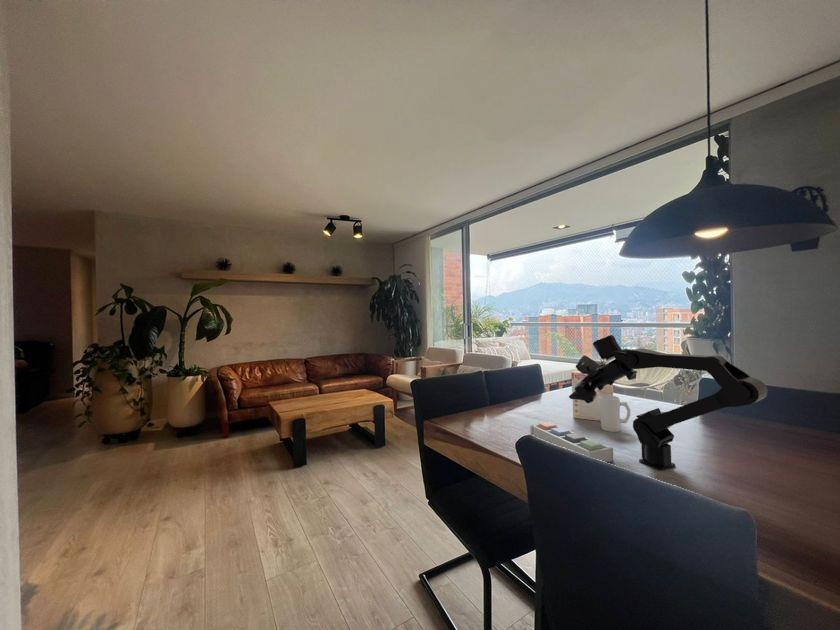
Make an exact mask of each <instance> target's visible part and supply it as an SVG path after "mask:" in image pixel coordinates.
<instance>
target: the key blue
mask: <svg viewBox="0 0 840 630" xmlns="http://www.w3.org/2000/svg"><path fill="white" fill-rule="evenodd" d="M570 431H571V430H570V429H567V428H564V427H563V426H560V427H558V428H552V429H551V434H554V435H556V436H558V437H560V436H565V435H566V434H570Z"/></svg>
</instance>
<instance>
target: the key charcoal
mask: <svg viewBox="0 0 840 630" xmlns="http://www.w3.org/2000/svg"><path fill="white" fill-rule="evenodd" d="M585 437H586V436H584V435H581V434H579V433H576V432H574V433H571V434H566V435H565V440H567V441H569V442H571V443H573V444H574V443H579V442H580V441H585Z"/></svg>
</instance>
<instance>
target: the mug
mask: <svg viewBox="0 0 840 630" xmlns="http://www.w3.org/2000/svg"><path fill="white" fill-rule="evenodd" d="M620 399H621V398H620V397H619V396H616V395H613V396H610V395H602V396H599V401H600V418H601V421H600V429H602V430H603V431H605V432H611V433H612V432H613V433H615V432H616V433H618V432H620V430H621V424H627V423H628V422H629V419H630V417H631V408H630V406H629V405H628V402H627V401H620ZM622 406H623V407H625V409H626V411H627V412H626V416H625V418H621V416H620V415H621V410H620V409H621V408H620V407H622Z"/></svg>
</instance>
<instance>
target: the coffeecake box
mask: <svg viewBox="0 0 840 630" xmlns="http://www.w3.org/2000/svg"><path fill="white" fill-rule="evenodd" d="M587 375H588V374H583V373H581V372H580V371H578V370H577V369H573V370H572V371H571V394H572V393H573V392H574V391H575V387H576V385H577V384H579V382H580V381H582V380H583V379H584V378H585V377H586V376H587ZM613 385H614V383H613V384H612V385H609V384H608V385H606V386H604V387H603V389H602V390H599V389H598V388H597V387H596V389H595V390H594V391H595V392H596V393H597V395H596V398H595V399H594V401H593V402H591V403H589V404H588V403H586V402H585V401H584V400H576V399H571V400H572V418H573V419H579V420H580V419H581V420H589V421H597V422H601V418H600V401H599V396H602V395H610V396H614V386H613Z"/></svg>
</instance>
